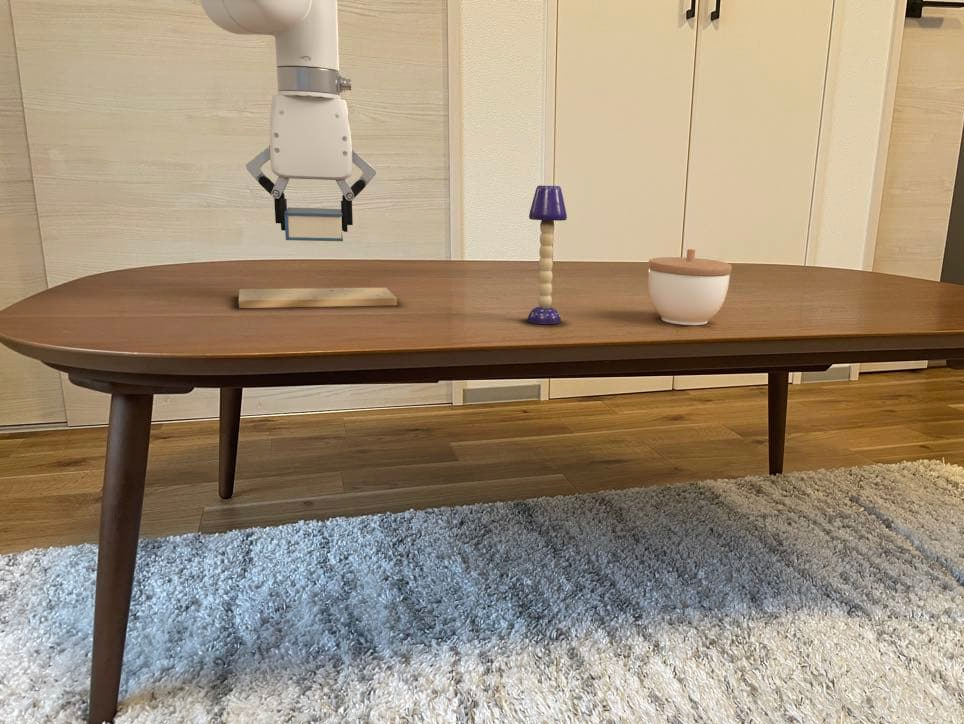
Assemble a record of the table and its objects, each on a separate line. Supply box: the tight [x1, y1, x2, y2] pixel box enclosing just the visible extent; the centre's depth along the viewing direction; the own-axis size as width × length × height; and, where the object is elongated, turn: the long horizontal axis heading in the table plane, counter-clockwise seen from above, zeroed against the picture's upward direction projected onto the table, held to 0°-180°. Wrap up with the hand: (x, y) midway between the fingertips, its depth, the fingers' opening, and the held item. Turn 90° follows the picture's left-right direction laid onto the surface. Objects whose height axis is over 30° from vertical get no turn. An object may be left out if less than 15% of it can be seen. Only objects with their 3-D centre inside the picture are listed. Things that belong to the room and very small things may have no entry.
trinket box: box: [647, 248, 733, 326], centre depth 102 cm, size 11×11×9 cm
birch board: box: [238, 287, 398, 309], centre depth 106 cm, size 20×9×1 cm, turn 109°
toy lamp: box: [527, 185, 568, 325], centre depth 97 cm, size 5×5×17 cm
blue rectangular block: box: [284, 206, 344, 242], centre depth 103 cm, size 10×7×3 cm
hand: (314, 229), depth 103 cm, fingers closed on blue rectangular block, 7 cm apart
